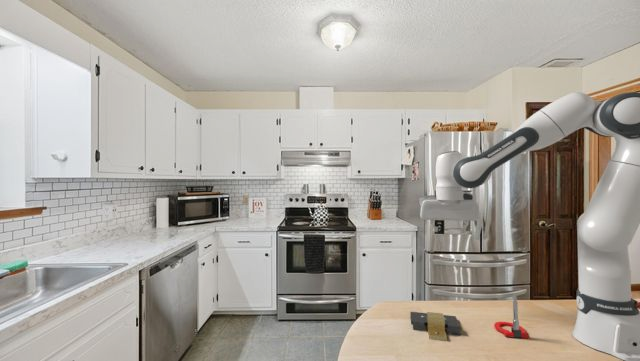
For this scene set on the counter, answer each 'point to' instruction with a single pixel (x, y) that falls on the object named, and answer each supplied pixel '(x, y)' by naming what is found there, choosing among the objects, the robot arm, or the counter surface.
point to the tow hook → (512, 324)
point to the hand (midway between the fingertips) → (449, 232)
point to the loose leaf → (436, 326)
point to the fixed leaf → (421, 320)
